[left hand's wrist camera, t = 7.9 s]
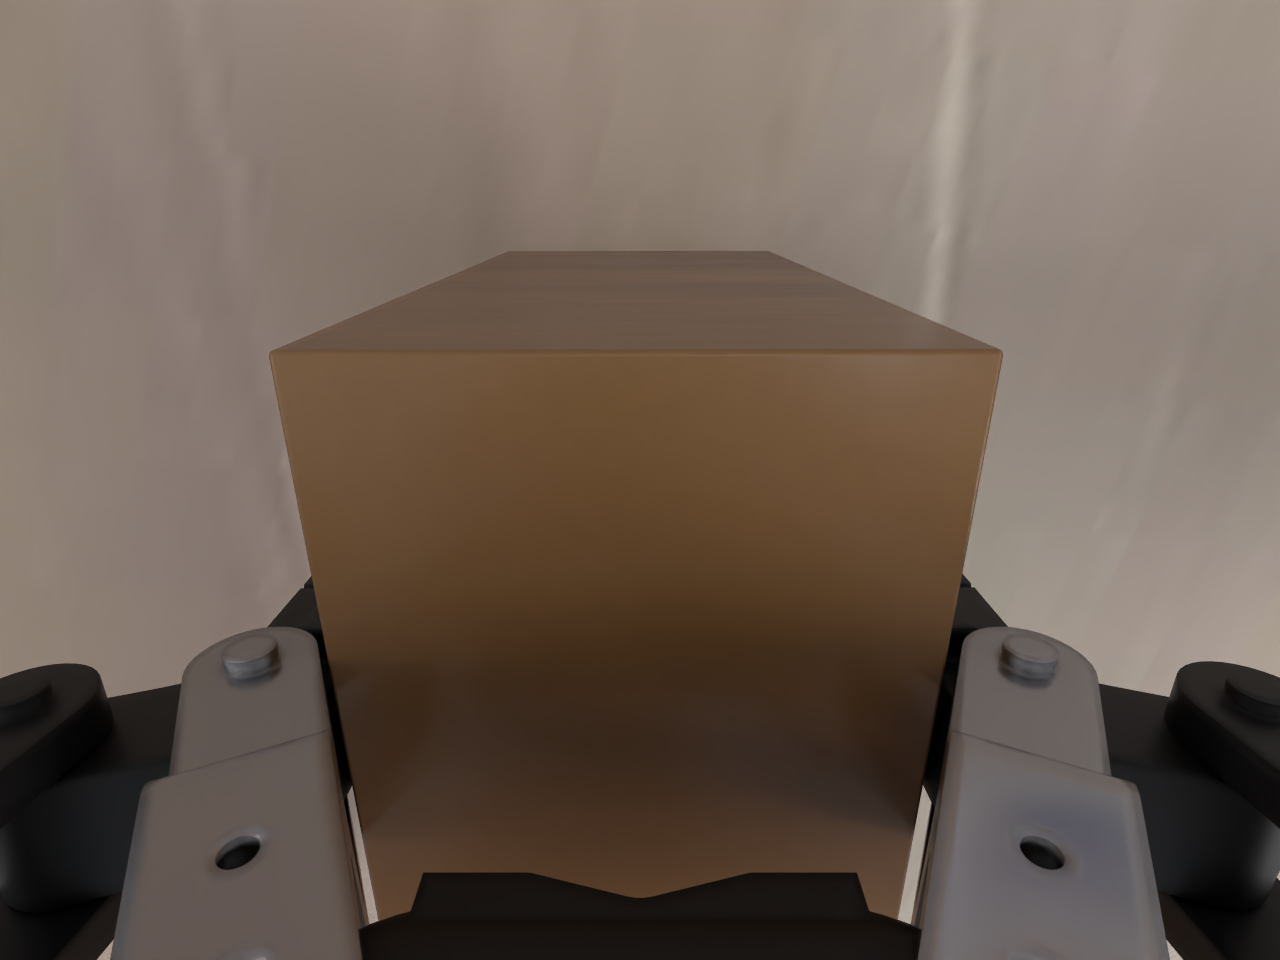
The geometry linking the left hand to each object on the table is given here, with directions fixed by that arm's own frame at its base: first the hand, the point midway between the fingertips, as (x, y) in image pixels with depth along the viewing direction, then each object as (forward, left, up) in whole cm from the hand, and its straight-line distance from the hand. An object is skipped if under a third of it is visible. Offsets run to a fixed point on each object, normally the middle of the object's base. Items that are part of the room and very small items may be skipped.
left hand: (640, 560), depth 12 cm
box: (+9, +2, -7) cm, 12 cm away
